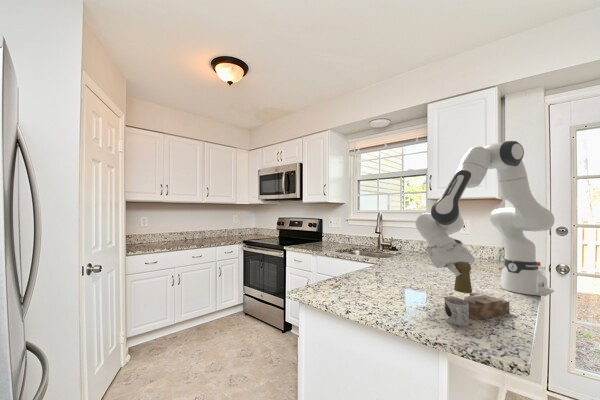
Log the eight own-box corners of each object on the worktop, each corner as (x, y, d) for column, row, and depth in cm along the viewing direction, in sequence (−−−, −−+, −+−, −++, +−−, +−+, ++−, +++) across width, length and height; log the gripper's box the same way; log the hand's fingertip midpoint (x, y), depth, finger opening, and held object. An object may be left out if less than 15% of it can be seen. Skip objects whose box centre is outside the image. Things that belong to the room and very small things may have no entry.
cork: (475, 293, 100) (475, 264, 100) (457, 292, 101) (457, 263, 102) (468, 289, 106) (468, 261, 106) (451, 288, 107) (451, 260, 108)
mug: (444, 316, 92) (444, 297, 92) (466, 320, 90) (466, 300, 90) (447, 328, 83) (447, 306, 83) (472, 332, 80) (472, 310, 81)
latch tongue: (481, 306, 102) (480, 294, 102) (483, 307, 101) (483, 295, 101) (464, 309, 98) (464, 296, 98) (467, 310, 97) (467, 297, 97)
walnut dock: (476, 302, 108) (476, 289, 108) (509, 313, 97) (509, 299, 97) (444, 307, 101) (444, 294, 101) (476, 320, 90) (476, 305, 90)
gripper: (428, 241, 107) (450, 272, 97) (463, 240, 115) (487, 268, 105) (419, 251, 111) (440, 281, 101) (454, 249, 119) (476, 277, 109)
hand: (464, 274), depth 103 cm, fingers closed on cork, 4 cm apart
